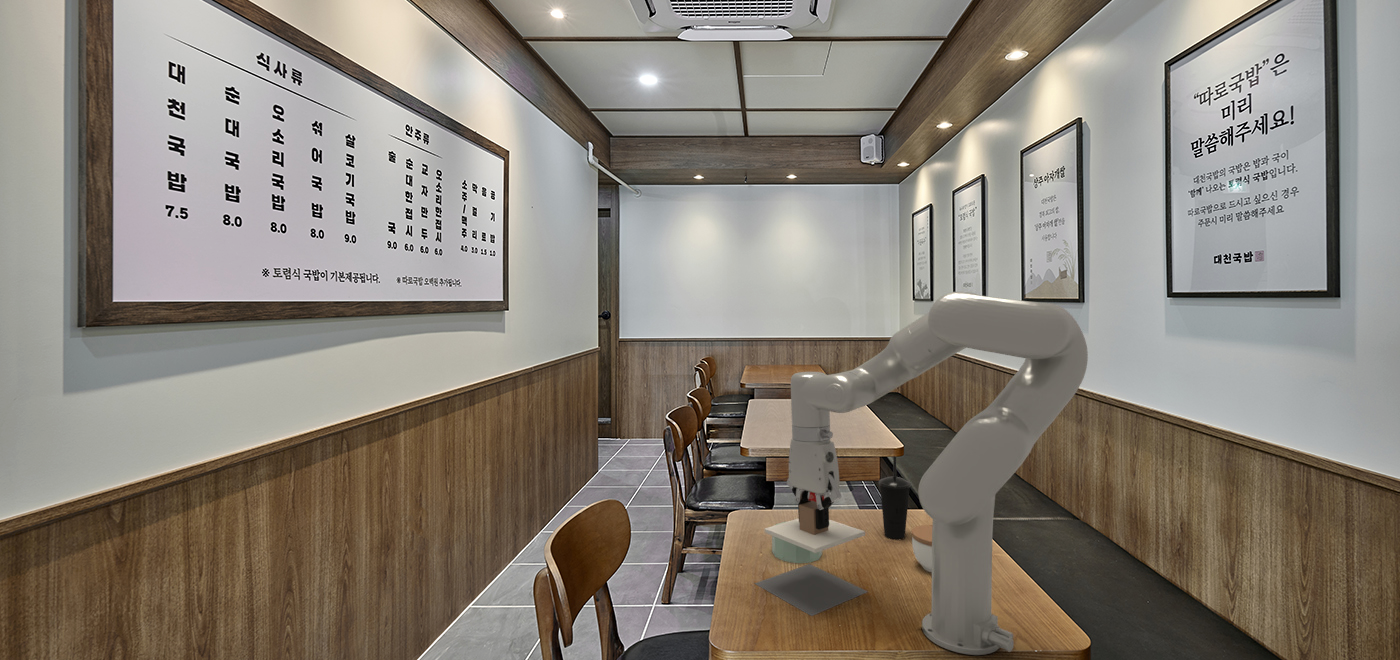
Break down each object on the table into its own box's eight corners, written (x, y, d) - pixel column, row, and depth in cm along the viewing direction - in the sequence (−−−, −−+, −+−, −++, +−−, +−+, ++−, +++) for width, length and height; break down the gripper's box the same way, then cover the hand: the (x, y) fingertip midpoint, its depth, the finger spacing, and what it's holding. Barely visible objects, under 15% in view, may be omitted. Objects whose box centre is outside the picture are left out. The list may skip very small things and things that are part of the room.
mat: (868, 594, 117) (868, 591, 117) (811, 619, 108) (811, 615, 108) (809, 566, 130) (809, 563, 130) (754, 586, 121) (754, 583, 121)
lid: (864, 535, 117) (864, 506, 117) (815, 553, 109) (814, 521, 109) (813, 517, 128) (812, 491, 128) (764, 532, 120) (763, 504, 120)
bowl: (831, 557, 135) (831, 531, 135) (796, 569, 129) (796, 542, 129) (797, 542, 144) (797, 518, 144) (763, 553, 138) (763, 527, 138)
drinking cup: (872, 532, 150) (872, 454, 150) (898, 529, 153) (898, 452, 152) (890, 543, 143) (891, 461, 142) (917, 539, 145) (917, 459, 145)
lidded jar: (975, 575, 126) (975, 532, 125) (932, 582, 123) (932, 537, 122) (941, 555, 136) (941, 515, 136) (901, 561, 133) (901, 520, 133)
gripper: (856, 437, 114) (859, 531, 114) (795, 426, 127) (797, 510, 127) (829, 442, 109) (832, 541, 109) (769, 430, 123) (771, 518, 123)
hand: (813, 523), depth 118 cm, fingers closed on lid, 4 cm apart
